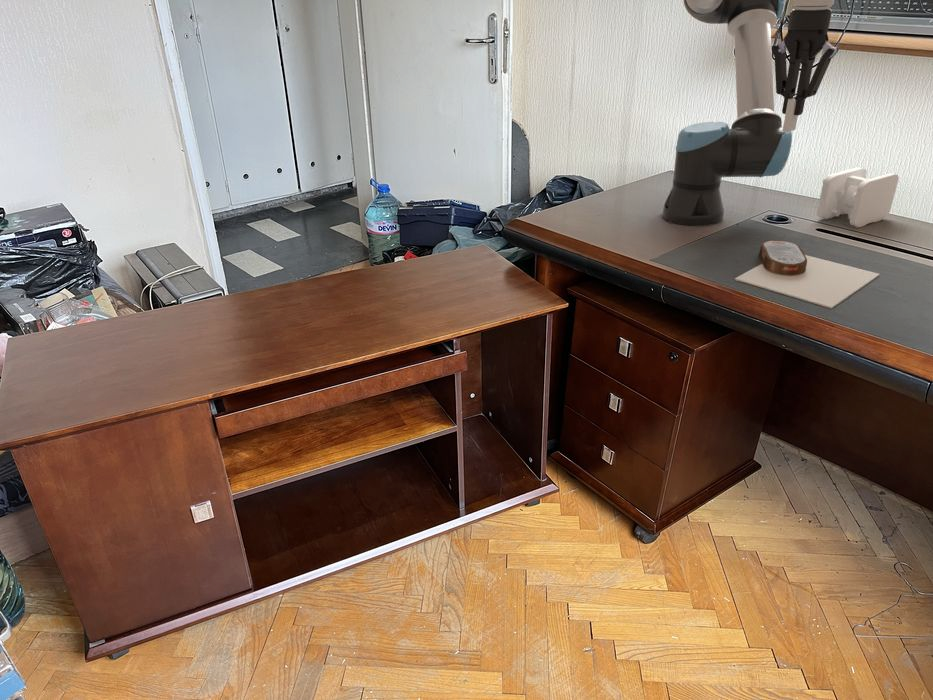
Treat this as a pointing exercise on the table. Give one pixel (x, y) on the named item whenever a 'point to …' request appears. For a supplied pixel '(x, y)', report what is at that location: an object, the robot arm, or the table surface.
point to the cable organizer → (857, 196)
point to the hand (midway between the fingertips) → (788, 130)
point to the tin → (783, 257)
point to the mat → (813, 281)
